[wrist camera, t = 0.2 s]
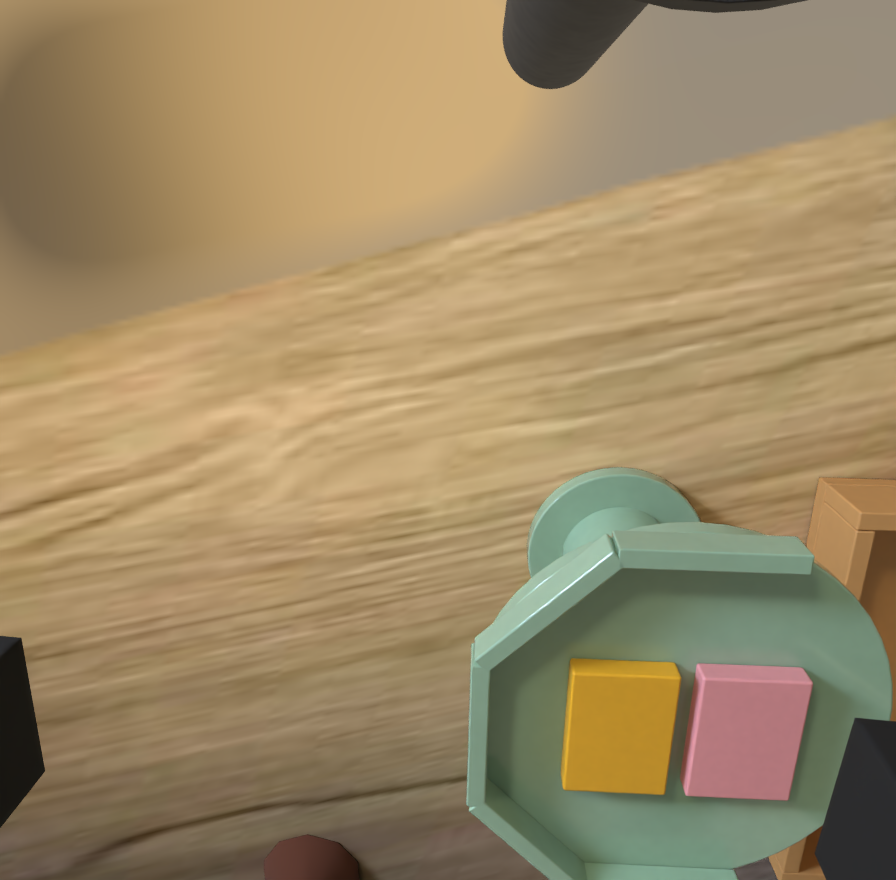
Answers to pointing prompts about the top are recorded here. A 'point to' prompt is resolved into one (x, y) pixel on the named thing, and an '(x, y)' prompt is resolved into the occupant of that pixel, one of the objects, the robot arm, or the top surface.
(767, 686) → the sachet
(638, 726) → the sachet
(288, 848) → the ice cream bowl
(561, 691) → the green pedestal stand
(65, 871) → the top surface
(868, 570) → the box
